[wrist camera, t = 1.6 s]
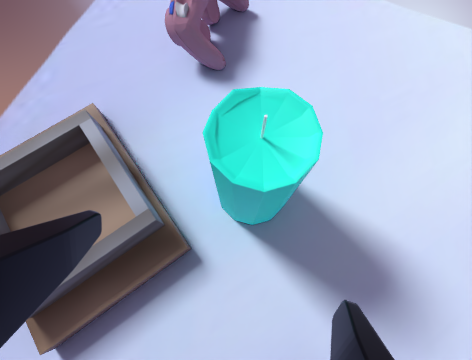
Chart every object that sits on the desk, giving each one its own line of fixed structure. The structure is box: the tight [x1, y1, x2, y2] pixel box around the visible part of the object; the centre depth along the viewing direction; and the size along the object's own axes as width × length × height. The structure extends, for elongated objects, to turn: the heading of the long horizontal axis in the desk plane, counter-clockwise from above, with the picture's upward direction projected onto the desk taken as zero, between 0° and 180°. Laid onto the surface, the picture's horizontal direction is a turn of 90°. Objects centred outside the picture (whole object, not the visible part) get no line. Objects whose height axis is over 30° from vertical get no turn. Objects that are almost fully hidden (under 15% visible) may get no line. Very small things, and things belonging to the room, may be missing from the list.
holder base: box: [0, 103, 191, 355], centre depth 21 cm, size 16×12×4 cm
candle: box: [203, 87, 323, 225], centre depth 17 cm, size 6×6×12 cm
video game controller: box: [165, 0, 249, 70], centre depth 26 cm, size 10×5×7 cm, turn 163°
